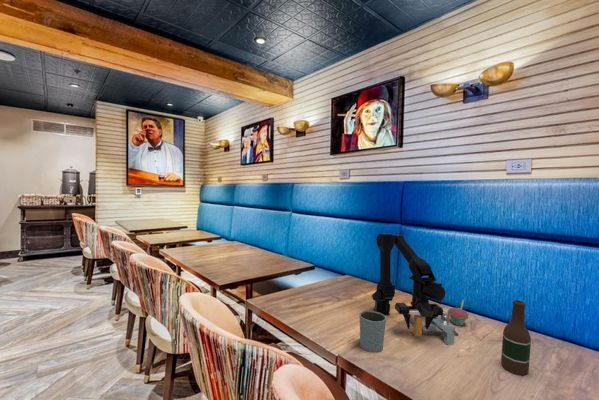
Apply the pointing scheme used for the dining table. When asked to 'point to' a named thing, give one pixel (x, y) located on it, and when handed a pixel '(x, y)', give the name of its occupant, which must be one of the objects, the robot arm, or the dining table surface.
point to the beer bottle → (516, 342)
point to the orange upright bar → (417, 325)
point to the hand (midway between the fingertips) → (417, 328)
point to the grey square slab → (438, 327)
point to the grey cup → (372, 331)
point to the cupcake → (458, 315)
